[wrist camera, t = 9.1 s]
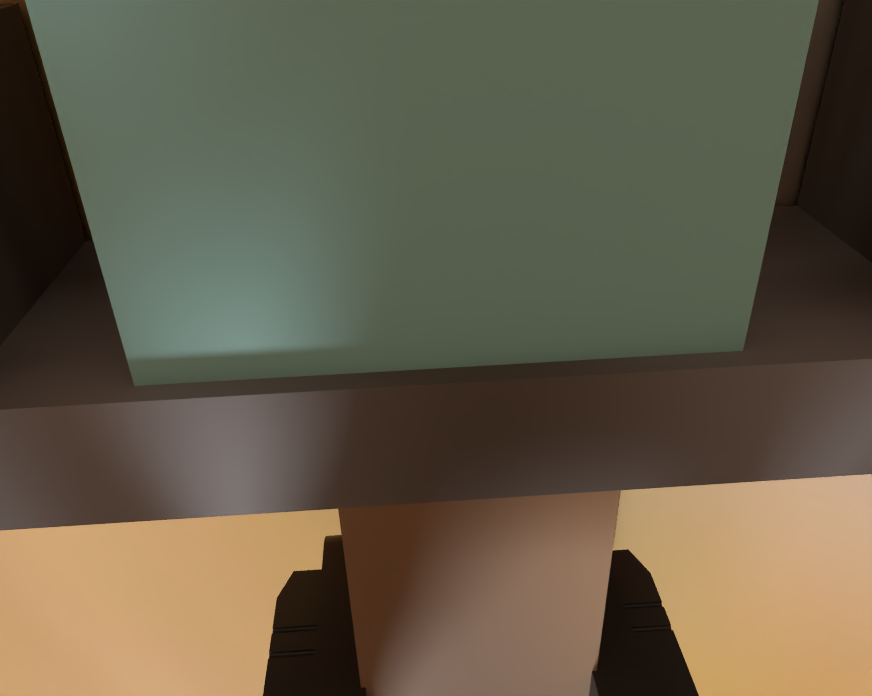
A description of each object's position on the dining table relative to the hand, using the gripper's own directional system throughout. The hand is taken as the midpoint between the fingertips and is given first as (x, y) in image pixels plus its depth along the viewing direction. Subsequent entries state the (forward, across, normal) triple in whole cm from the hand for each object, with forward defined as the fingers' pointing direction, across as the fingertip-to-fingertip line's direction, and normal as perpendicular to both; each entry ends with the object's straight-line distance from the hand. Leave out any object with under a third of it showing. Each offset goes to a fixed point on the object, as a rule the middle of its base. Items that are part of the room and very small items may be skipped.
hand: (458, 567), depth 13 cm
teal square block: (+1, 0, -9) cm, 9 cm away
